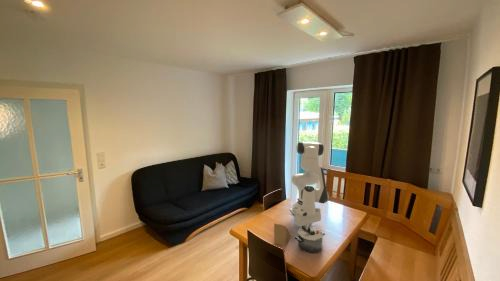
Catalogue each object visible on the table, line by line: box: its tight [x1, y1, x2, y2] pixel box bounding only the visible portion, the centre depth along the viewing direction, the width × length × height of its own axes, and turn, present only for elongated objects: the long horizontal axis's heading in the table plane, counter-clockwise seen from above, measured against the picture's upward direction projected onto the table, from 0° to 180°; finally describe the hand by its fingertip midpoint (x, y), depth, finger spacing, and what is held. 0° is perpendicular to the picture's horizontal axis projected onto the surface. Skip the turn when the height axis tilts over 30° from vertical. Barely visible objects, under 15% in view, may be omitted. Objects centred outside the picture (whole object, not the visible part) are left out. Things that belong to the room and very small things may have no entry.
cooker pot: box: [294, 229, 326, 254], centre depth 146 cm, size 16×22×9 cm
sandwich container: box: [273, 223, 292, 247], centre depth 154 cm, size 9×15×15 cm, turn 152°
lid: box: [297, 225, 324, 241], centre depth 145 cm, size 17×17×3 cm
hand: (308, 229), depth 147 cm, fingers closed, pressing on lid
